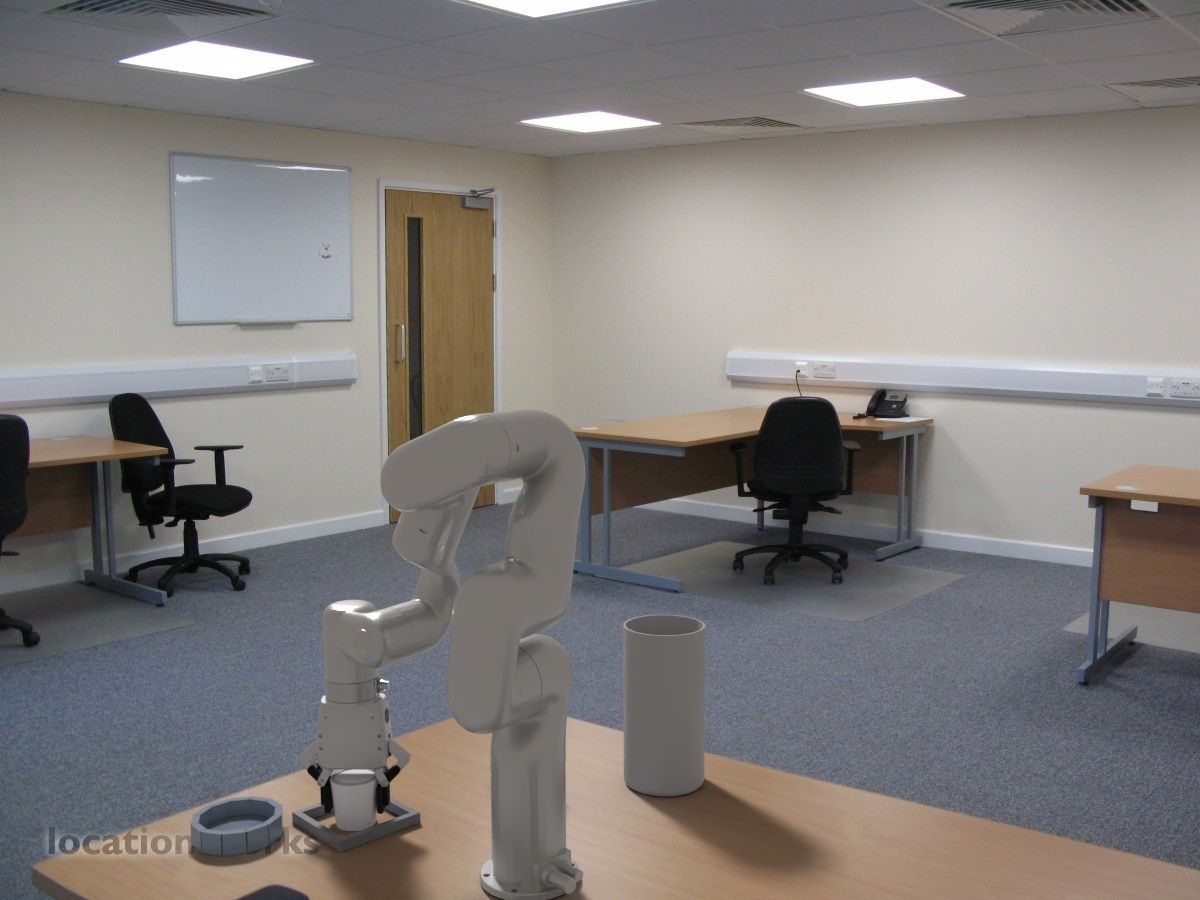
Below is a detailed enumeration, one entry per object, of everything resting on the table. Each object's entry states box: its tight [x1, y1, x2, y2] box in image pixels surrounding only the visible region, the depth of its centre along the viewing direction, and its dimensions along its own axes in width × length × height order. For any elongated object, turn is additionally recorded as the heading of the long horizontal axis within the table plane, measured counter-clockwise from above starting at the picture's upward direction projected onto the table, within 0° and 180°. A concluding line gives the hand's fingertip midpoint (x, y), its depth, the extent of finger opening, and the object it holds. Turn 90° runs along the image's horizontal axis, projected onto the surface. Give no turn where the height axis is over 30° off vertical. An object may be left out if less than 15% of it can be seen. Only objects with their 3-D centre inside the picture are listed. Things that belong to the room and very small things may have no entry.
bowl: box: [190, 795, 284, 857], centre depth 154 cm, size 12×12×3 cm
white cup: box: [330, 769, 379, 832], centre depth 158 cm, size 7×7×7 cm
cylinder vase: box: [622, 614, 706, 798], centre depth 171 cm, size 12×12×25 cm
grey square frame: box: [291, 796, 421, 853], centre depth 158 cm, size 13×13×2 cm
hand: (355, 808), depth 158 cm, fingers closed on white cup, 6 cm apart
